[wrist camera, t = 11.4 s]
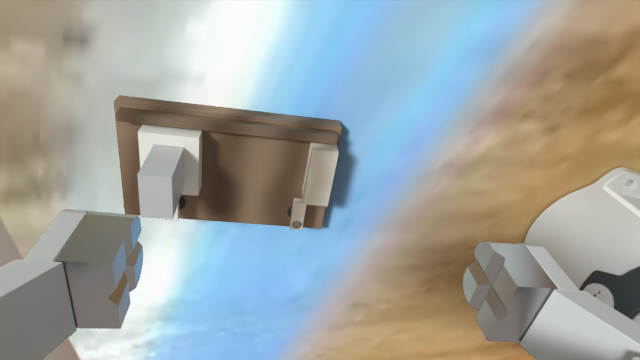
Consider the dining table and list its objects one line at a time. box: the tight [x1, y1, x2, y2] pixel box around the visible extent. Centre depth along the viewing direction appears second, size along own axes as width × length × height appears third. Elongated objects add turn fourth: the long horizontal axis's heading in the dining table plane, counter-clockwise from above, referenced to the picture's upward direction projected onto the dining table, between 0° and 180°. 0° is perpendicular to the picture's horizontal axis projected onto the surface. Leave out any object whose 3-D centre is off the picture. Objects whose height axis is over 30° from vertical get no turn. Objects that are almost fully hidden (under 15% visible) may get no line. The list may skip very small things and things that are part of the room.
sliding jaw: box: [137, 124, 203, 221], centre depth 37 cm, size 5×9×7 cm, turn 171°
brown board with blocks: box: [114, 96, 342, 230], centre depth 40 cm, size 20×12×4 cm, turn 81°
